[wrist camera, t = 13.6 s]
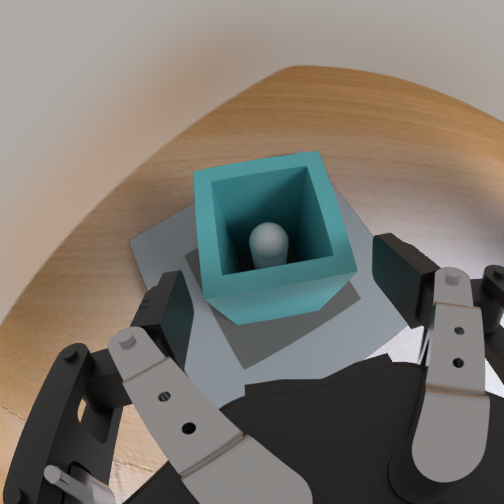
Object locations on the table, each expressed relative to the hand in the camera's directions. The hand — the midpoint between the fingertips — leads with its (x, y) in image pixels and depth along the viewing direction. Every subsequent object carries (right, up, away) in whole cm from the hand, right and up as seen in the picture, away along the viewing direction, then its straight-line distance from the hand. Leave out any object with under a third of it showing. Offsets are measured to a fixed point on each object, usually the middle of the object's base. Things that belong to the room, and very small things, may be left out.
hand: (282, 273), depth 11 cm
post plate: (0, -2, +11) cm, 11 cm away
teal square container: (0, -1, +10) cm, 10 cm away
